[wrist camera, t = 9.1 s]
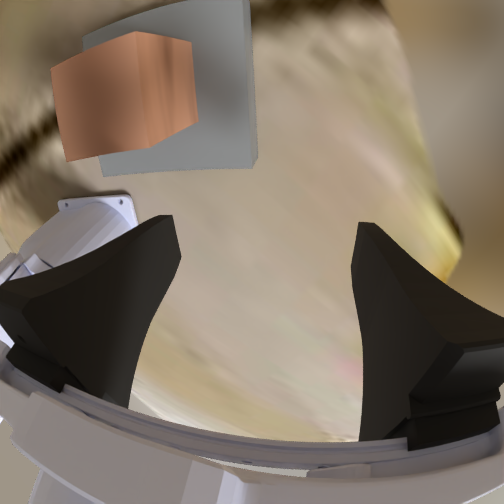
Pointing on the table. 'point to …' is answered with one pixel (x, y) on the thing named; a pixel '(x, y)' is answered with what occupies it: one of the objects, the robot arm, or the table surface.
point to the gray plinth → (199, 88)
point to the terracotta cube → (124, 94)
